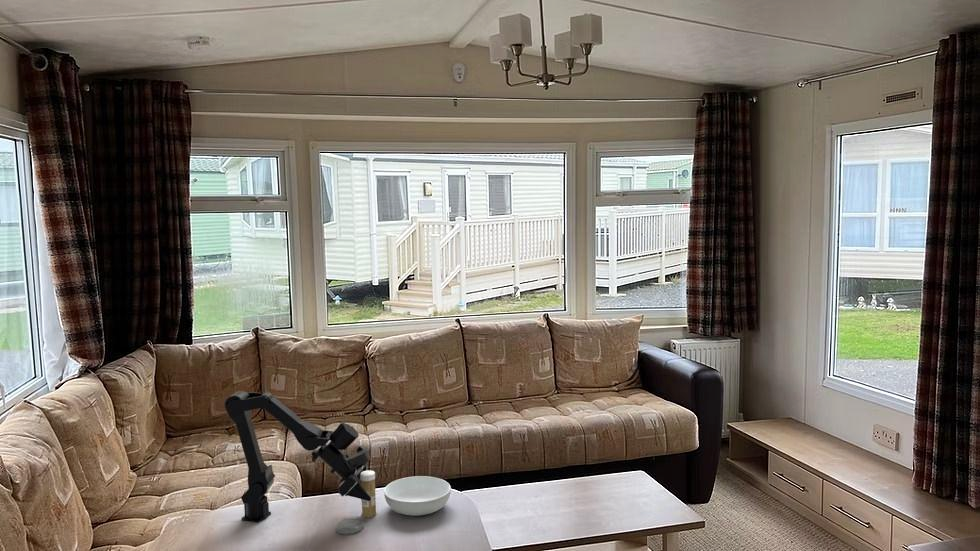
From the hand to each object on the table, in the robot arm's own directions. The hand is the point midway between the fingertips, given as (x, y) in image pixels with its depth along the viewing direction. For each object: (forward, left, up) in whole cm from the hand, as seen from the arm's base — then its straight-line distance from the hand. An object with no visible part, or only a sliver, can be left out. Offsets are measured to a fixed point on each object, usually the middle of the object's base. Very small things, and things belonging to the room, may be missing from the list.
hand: (372, 494), depth 207 cm
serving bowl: (+12, +8, -7) cm, 16 cm away
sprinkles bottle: (-1, 0, -7) cm, 7 cm away
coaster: (-2, -10, -7) cm, 13 cm away
